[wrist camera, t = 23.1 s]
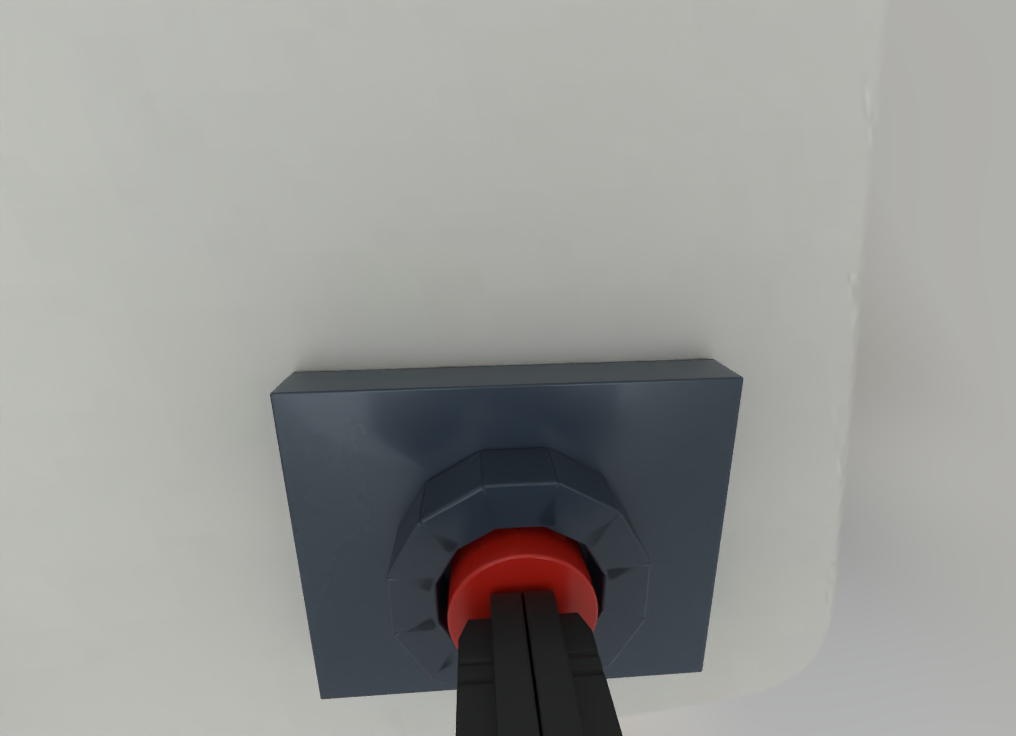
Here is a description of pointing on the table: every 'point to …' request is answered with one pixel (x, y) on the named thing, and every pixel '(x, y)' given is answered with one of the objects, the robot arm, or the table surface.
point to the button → (518, 574)
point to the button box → (503, 503)
